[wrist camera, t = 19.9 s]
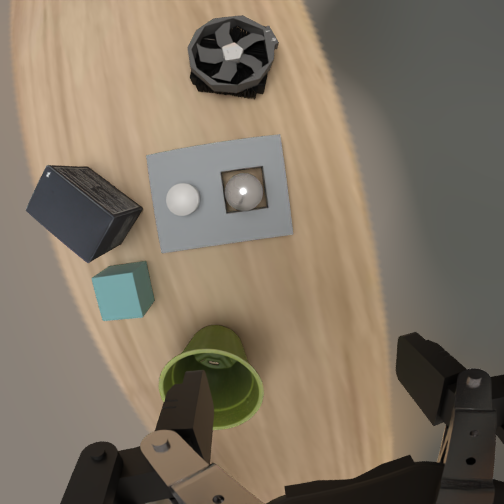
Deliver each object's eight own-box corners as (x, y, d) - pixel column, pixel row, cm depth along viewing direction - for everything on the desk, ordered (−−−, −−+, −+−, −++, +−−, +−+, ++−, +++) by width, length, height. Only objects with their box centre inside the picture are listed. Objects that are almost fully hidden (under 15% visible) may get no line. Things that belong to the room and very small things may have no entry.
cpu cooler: (178, 81, 32) (197, 10, 30) (186, 94, 37) (202, 29, 36) (269, 93, 33) (283, 21, 31) (265, 105, 38) (277, 40, 36)
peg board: (289, 230, 41) (296, 237, 36) (166, 248, 41) (156, 257, 36) (277, 138, 39) (282, 130, 34) (152, 157, 39) (140, 153, 33)
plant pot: (162, 321, 43) (141, 361, 32) (244, 299, 43) (246, 336, 32) (192, 388, 46) (182, 437, 35) (267, 370, 45) (275, 418, 34)
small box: (64, 204, 39) (22, 211, 29) (87, 164, 38) (46, 161, 28) (119, 248, 41) (86, 266, 31) (144, 208, 40) (115, 215, 30)
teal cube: (146, 260, 41) (132, 272, 36) (154, 300, 43) (142, 317, 37) (109, 266, 41) (91, 278, 35) (118, 304, 42) (102, 320, 37)
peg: (260, 200, 40) (266, 206, 31) (232, 206, 40) (229, 214, 31) (255, 172, 40) (258, 169, 30) (226, 178, 40) (221, 177, 30)
